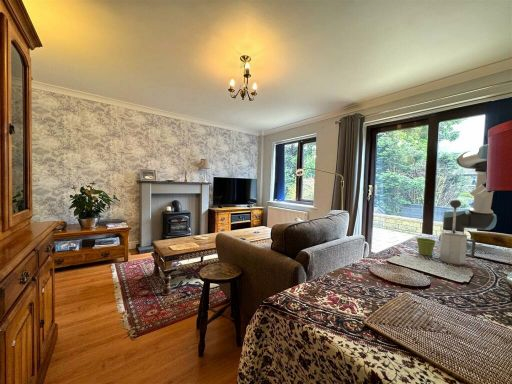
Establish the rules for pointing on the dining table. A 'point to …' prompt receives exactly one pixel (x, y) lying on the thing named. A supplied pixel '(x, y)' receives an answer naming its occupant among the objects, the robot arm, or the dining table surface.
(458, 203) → the plunger
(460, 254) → the press carafe
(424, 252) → the plant pot
